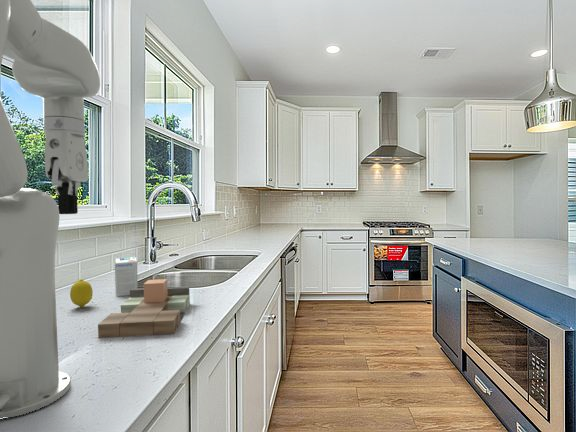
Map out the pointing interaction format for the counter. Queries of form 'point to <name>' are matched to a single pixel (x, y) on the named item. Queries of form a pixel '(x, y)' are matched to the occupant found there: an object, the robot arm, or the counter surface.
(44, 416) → the counter surface
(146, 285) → the block
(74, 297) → the lemon
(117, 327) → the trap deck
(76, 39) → the robot arm
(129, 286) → the light bulb box
